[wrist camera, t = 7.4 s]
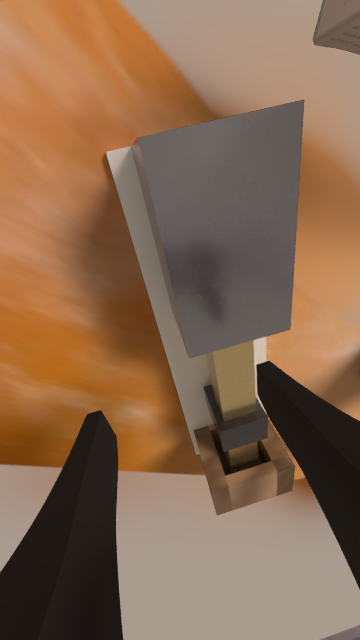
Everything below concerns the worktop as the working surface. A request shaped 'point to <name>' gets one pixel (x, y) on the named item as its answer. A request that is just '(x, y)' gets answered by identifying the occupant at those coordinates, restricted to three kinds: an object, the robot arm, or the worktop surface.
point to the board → (166, 298)
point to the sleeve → (226, 222)
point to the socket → (244, 471)
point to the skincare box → (339, 25)
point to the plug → (236, 405)
